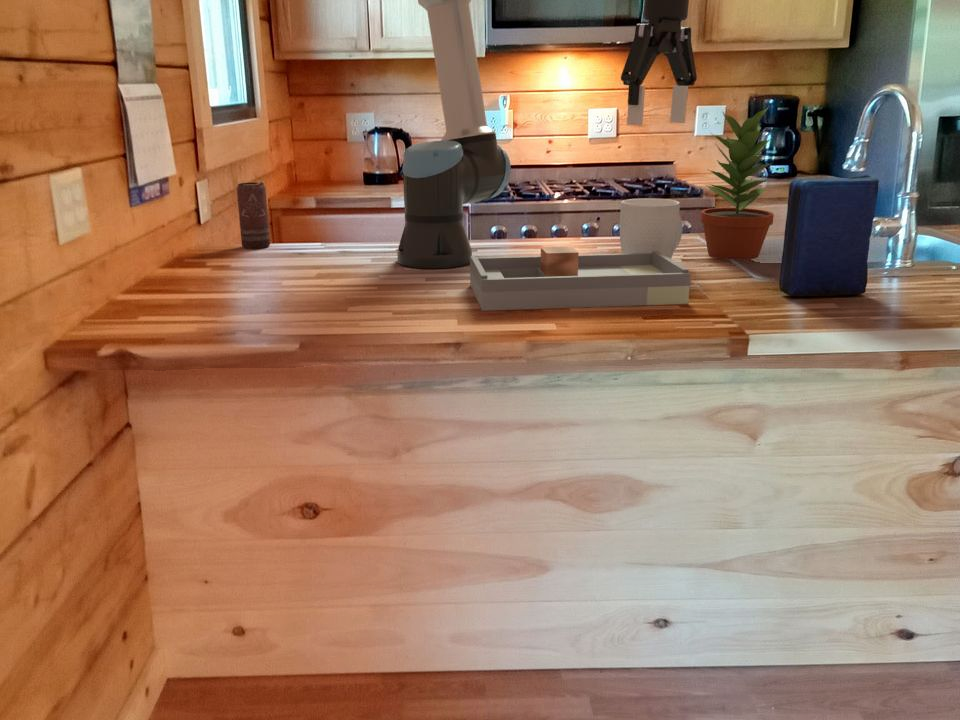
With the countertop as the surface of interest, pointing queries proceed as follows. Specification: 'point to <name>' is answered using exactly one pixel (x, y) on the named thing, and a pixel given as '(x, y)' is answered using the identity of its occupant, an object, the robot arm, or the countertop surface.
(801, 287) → the book
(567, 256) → the block
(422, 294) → the countertop surface
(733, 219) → the potted plant
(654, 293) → the pad
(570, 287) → the box
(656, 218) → the mug
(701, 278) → the countertop surface
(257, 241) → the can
